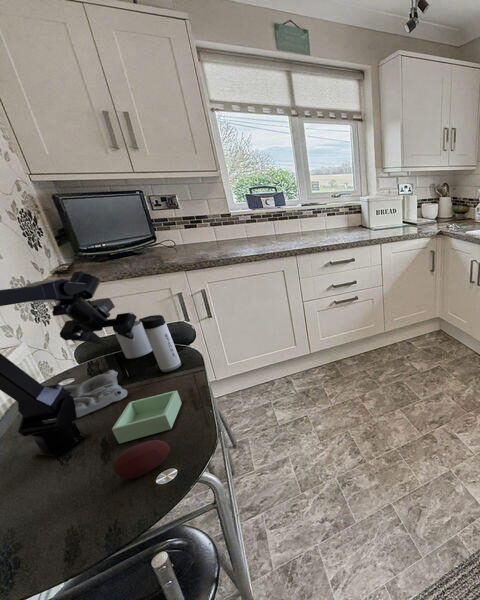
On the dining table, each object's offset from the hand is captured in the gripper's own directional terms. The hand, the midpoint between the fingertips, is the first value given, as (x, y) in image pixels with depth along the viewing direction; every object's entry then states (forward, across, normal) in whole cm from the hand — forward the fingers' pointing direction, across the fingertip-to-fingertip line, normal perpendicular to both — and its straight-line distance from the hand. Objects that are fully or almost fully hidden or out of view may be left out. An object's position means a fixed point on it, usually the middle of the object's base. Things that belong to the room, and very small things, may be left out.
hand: (117, 340), depth 106 cm
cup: (+24, +10, -10) cm, 28 cm away
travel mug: (+15, -10, +4) cm, 18 cm away
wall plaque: (+9, +9, +14) cm, 19 cm away
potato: (-10, -27, +46) cm, 54 cm away
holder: (-1, -19, +31) cm, 36 cm away
